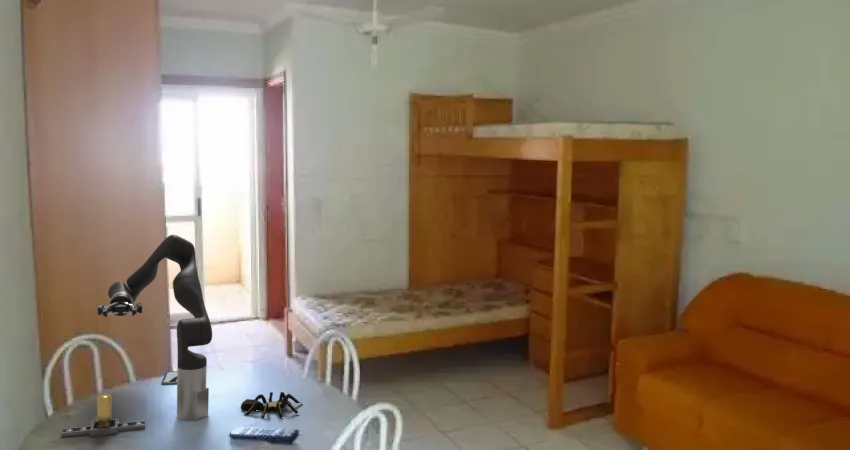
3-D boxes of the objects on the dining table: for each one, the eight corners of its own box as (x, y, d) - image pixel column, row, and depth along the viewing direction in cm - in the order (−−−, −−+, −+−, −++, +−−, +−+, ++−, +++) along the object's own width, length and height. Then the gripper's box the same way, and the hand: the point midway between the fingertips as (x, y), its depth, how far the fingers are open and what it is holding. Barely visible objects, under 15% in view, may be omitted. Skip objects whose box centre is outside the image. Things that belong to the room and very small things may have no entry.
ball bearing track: (145, 421, 218) (145, 415, 217) (145, 430, 211) (145, 424, 210) (63, 429, 208) (63, 423, 208) (60, 439, 201) (60, 433, 201)
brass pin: (114, 429, 211) (114, 395, 210) (103, 433, 207) (103, 399, 206) (105, 426, 212) (104, 393, 211) (94, 431, 208) (94, 397, 207)
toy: (300, 420, 225) (300, 406, 225) (236, 420, 223) (236, 405, 223) (305, 401, 243) (305, 388, 242) (246, 401, 241) (246, 387, 240)
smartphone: (185, 370, 268) (181, 382, 254) (185, 373, 268) (181, 385, 254) (165, 371, 266) (160, 383, 252) (165, 373, 266) (160, 385, 252)
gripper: (99, 293, 240) (96, 303, 226) (142, 292, 246) (142, 301, 231) (99, 314, 241) (96, 325, 226) (142, 312, 247) (142, 323, 232)
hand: (119, 313), depth 229 cm, fingers open, 8 cm apart
